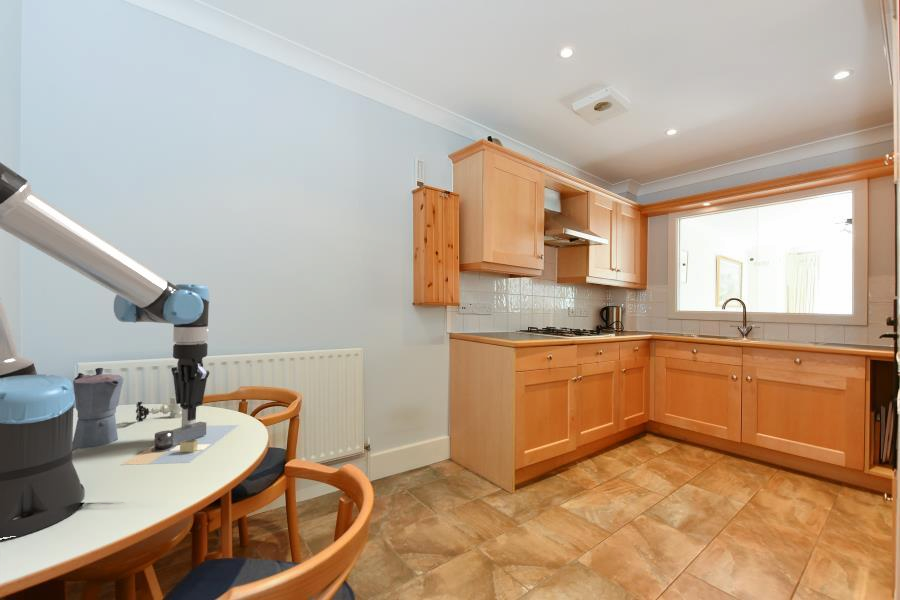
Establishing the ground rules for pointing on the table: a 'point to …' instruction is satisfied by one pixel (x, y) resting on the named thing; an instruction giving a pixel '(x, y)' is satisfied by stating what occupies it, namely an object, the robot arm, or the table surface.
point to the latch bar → (179, 435)
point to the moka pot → (96, 409)
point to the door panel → (174, 452)
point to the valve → (159, 410)
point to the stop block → (188, 446)
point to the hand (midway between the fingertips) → (188, 431)
